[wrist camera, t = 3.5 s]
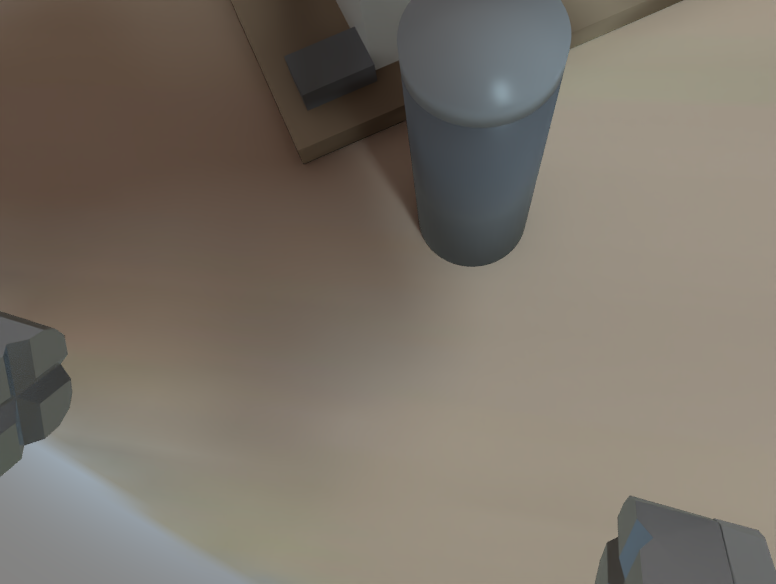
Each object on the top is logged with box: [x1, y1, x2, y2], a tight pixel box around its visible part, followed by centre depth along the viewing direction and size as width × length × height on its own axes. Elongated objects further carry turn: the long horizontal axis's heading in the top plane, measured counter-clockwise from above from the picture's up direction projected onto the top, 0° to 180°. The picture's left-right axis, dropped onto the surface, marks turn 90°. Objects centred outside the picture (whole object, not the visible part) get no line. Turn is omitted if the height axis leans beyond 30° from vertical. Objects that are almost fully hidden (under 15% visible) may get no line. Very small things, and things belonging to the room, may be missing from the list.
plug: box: [397, 0, 571, 267], centre depth 20 cm, size 4×4×10 cm
